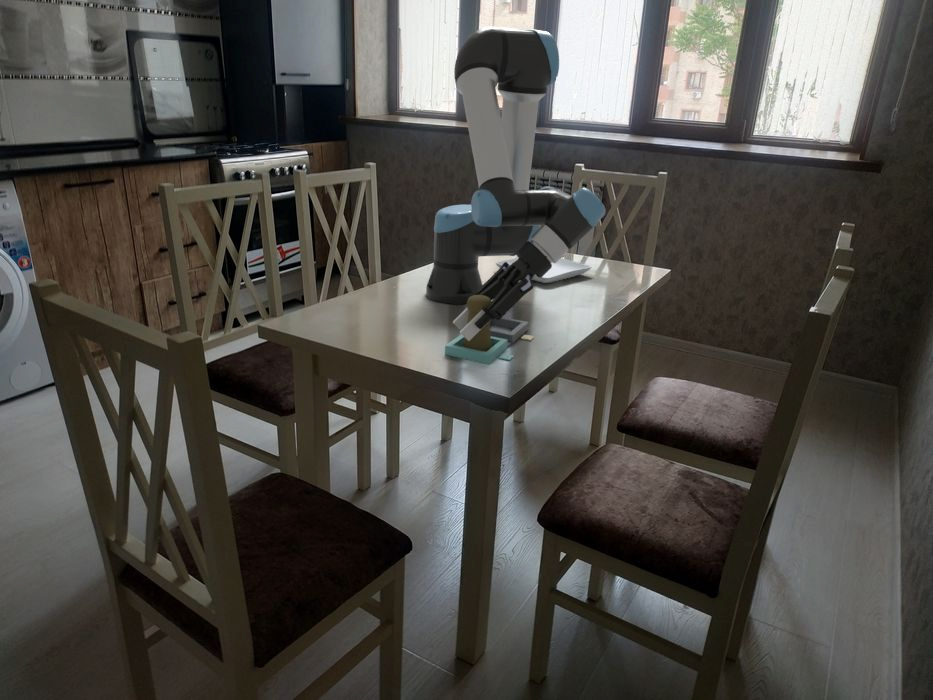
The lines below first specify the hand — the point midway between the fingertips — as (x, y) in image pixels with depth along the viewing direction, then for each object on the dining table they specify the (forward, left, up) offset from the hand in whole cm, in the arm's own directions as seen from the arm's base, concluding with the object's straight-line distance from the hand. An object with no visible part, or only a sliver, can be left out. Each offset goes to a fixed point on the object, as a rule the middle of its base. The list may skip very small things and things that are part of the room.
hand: (460, 331), depth 138 cm
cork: (+3, +2, -4) cm, 5 cm away
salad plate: (-5, +69, -5) cm, 69 cm away
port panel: (+4, +9, -5) cm, 11 cm away
